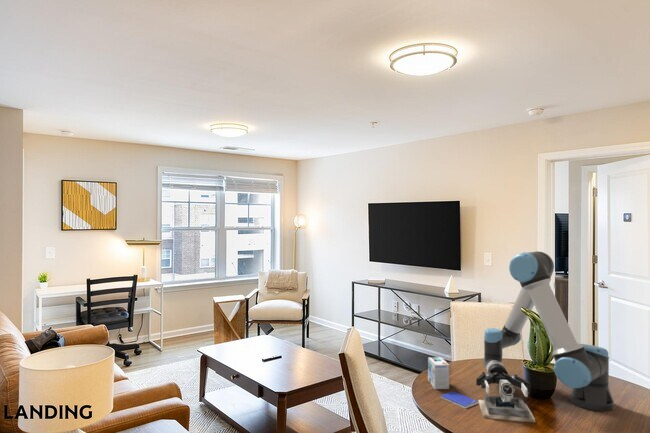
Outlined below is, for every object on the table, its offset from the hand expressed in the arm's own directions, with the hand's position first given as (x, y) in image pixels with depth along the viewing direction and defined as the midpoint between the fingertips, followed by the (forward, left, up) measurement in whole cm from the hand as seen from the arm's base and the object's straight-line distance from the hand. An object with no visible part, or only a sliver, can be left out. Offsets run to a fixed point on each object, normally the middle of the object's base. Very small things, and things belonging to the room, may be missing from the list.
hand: (507, 391), depth 163 cm
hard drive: (+17, -9, -10) cm, 22 cm away
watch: (0, -3, -8) cm, 9 cm away
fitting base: (0, -3, -9) cm, 10 cm away
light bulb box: (+26, -24, -9) cm, 37 cm away
